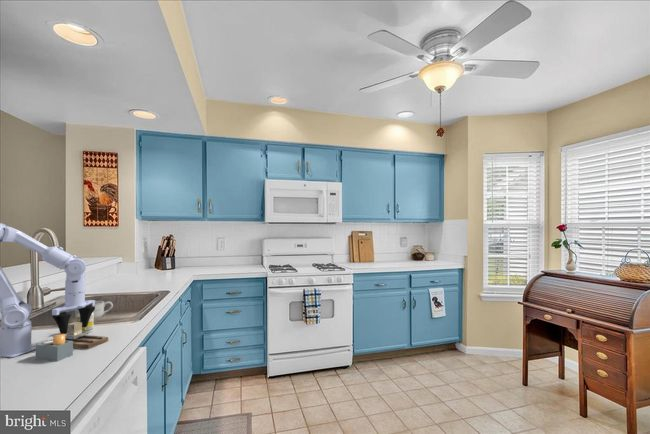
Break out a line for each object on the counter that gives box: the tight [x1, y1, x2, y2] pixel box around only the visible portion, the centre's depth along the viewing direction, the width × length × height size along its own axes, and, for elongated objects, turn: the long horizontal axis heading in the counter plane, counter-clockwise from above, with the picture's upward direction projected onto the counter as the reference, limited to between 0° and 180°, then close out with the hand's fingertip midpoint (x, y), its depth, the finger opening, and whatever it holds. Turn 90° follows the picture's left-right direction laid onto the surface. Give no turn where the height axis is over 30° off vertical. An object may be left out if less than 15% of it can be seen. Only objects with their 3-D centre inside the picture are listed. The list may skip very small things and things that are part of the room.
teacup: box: [74, 300, 114, 321], centre depth 144 cm, size 14×11×8 cm
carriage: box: [65, 321, 90, 339], centre depth 116 cm, size 6×6×4 cm
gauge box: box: [35, 338, 74, 362], centre depth 104 cm, size 8×5×5 cm, turn 79°
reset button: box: [52, 333, 65, 346], centre depth 103 cm, size 3×3×5 cm
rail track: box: [65, 334, 109, 350], centre depth 115 cm, size 14×8×2 cm, turn 79°
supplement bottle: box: [76, 313, 95, 333], centre depth 128 cm, size 5×5×10 cm
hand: (74, 330), depth 116 cm, fingers open, 7 cm apart
